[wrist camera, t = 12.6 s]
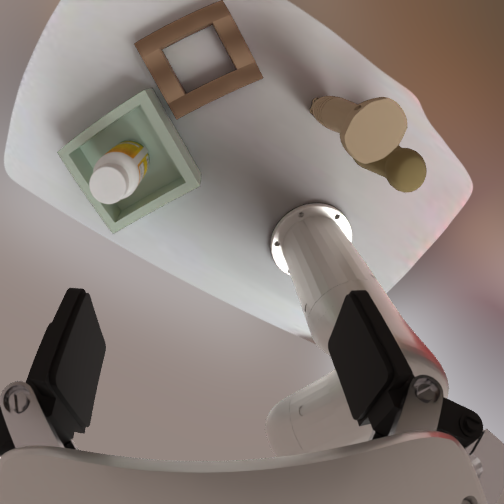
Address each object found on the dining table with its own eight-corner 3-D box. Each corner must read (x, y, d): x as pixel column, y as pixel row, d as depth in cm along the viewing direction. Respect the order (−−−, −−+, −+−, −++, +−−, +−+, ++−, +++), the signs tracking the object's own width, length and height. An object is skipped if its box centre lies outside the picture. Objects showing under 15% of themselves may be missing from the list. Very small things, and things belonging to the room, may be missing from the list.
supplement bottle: (159, 165, 36) (143, 194, 28) (125, 186, 37) (103, 220, 29) (136, 130, 33) (112, 149, 25) (103, 153, 34) (73, 179, 26)
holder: (260, 77, 32) (263, 78, 31) (178, 117, 34) (176, 119, 32) (221, 3, 26) (222, -1, 25) (137, 45, 28) (134, 43, 26)
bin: (201, 174, 38) (200, 186, 34) (121, 218, 40) (113, 234, 36) (152, 87, 31) (144, 89, 27) (71, 143, 33) (57, 152, 29)
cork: (384, 170, 41) (427, 201, 31) (348, 167, 40) (386, 198, 31) (391, 131, 37) (438, 153, 28) (354, 125, 37) (397, 146, 27)
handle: (290, 110, 35) (334, 133, 22) (326, 79, 33) (388, 87, 20) (314, 136, 37) (365, 174, 25) (349, 106, 35) (415, 130, 23)
